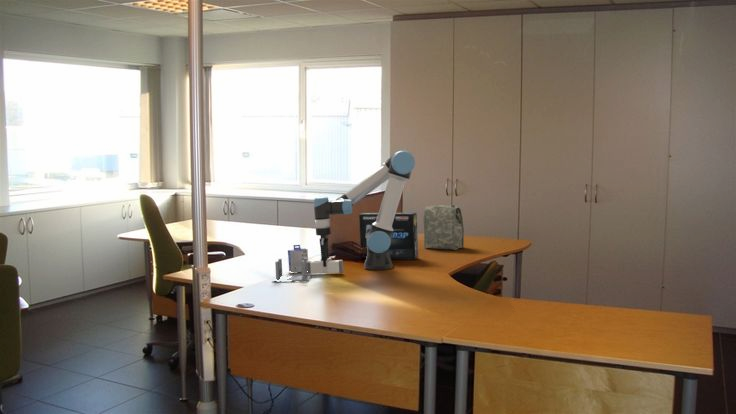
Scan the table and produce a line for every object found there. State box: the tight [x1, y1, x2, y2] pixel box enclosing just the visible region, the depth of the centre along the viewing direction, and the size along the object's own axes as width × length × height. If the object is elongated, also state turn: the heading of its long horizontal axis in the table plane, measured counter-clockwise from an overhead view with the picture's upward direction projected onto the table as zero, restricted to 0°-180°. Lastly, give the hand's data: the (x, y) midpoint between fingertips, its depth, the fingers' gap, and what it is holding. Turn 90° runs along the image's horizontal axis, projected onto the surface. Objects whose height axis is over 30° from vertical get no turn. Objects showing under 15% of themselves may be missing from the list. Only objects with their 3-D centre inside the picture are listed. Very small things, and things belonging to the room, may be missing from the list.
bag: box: [422, 204, 465, 251], centre depth 428 cm, size 22×16×27 cm
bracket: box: [274, 258, 313, 282], centre depth 344 cm, size 18×12×10 cm, turn 86°
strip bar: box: [307, 259, 344, 275], centre depth 355 cm, size 18×4×6 cm, turn 86°
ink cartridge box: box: [287, 244, 309, 272], centre depth 363 cm, size 10×6×14 cm, turn 114°
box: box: [358, 212, 419, 261], centre depth 396 cm, size 33×8×27 cm, turn 68°
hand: (326, 271), depth 355 cm, fingers closed on strip bar, 4 cm apart
